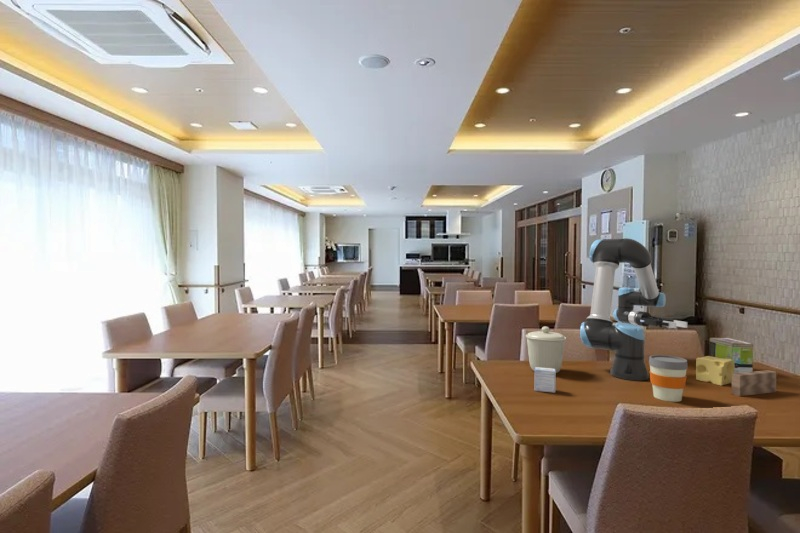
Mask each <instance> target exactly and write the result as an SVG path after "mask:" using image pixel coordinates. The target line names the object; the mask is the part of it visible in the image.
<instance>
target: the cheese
mask: <svg viewBox="0 0 800 533" xmlns="http://www.w3.org/2000/svg"><path fill="white" fill-rule="evenodd" d="M695 360H696V361H695V362H696V363H695V380H697V381H701V382H705V383H711V384H714V385H718V386H721V387H722V386H724V385H728V384H732V374H733V373H734V371H735V366H734V360H731V359H723V358H717V357H712V356H709V355H705V356H700V357H696V359H695Z"/></svg>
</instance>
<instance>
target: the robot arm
mask: <svg viewBox="0 0 800 533" xmlns="http://www.w3.org/2000/svg"><path fill="white" fill-rule="evenodd" d="M588 254H589V261H590V262H591V263H592V266H593V267H594V268H595V273H594V280H593V287H592V288H593V290H592V297H591V305H590V314H589V315H588V316H587V317H586V319H585V321H583V322H582V323H581V324H580V329H579V333H580V334H579V335H580V340H581V342H582V344H583V345H584V346H585V347H588V348H591V349H600V350H605V351H606V350H608V351H611V352H612V351H613V352H614V359H613V362H612V365H611V367H610V372H609V373H610V375H611V376H613V377H615V378H618V379H623V380H627V381H628V380H629V381H646V380H647V381H648V380H649V379H650V373H649V371H648V369H647V365H646V362H645V347H646V346H645V344H646V342H645V341H646V336H645V330H644V328H643V327H645V328H646V327H649V326H654V327H659V328H663V327H666V328H670V329H671V328H672V329H677V327H680V328H686V329H688V321H682V320H678V319H677V318H673V319H672V318H666V317H661V316H655V315H651V313H649V312H647V311H641V310H636V309H635V310H634V307H635V306H637V307H650V308H664V307H665V306H666V302H667V301H666V300H667V298H666V297H667V296H666V294H665V293H664V292H660V291H659V288H658V285H657V281H656V278H655V274H654V271H653V268H652V265H651V264H652V262H653V259H652V255H651V252H649V250H648V249H647V247H646V246H644V245H643V244H642V243H641V242H639V241H637V240H636V239H632V238H627V237H626V238H602V239H601V238H600V239H596V240H594V241H593V242H592V243H591V245H590V249H589V253H588ZM620 263H624V264H625V263H627V264H629V266H630V267H632V268H633V271H634V274H635V276H636V280H637V284H638V286H639V288H640V289H639V290H640V291H635V288H634V287H627V286H625V287H619V288H618V295H617V298H618V299H617V304H618V306H617V308H615V309H614V311H613V313H612V316H613V319H614V320H615V321H617V322H616V323H615V324H614V321H613V320H612V319H611V311H612V309H611V308H612V301H613V293H614V292H613V291H614V283H615V274H616V270H617V269H618V268H620Z"/></svg>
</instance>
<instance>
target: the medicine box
mask: <svg viewBox="0 0 800 533" xmlns="http://www.w3.org/2000/svg"><path fill="white" fill-rule="evenodd" d="M556 374H557V373H556V371H555V369H552V368H540V367H535V371H534V391H535V392H545V393H556V376H557V375H556Z"/></svg>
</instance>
